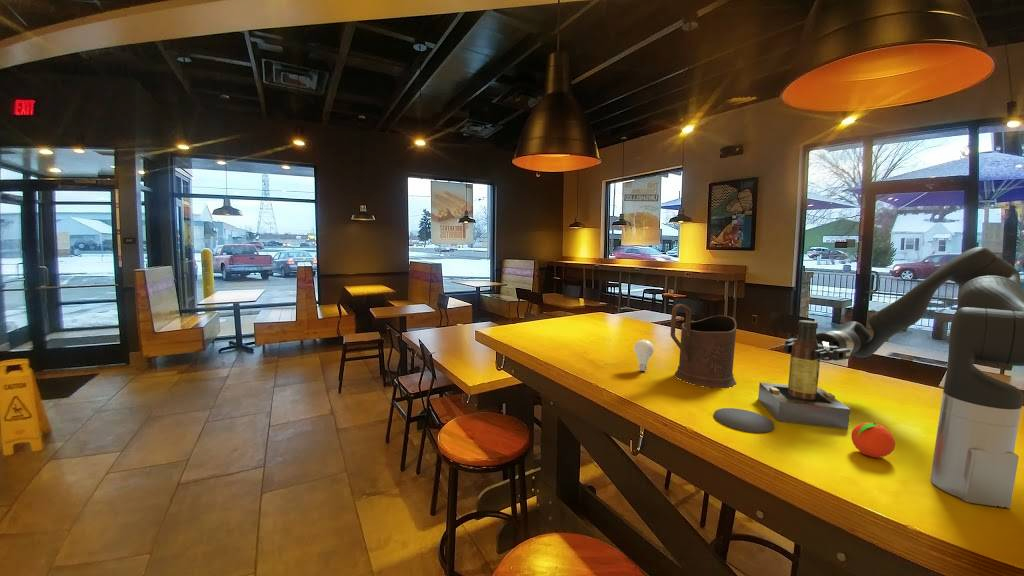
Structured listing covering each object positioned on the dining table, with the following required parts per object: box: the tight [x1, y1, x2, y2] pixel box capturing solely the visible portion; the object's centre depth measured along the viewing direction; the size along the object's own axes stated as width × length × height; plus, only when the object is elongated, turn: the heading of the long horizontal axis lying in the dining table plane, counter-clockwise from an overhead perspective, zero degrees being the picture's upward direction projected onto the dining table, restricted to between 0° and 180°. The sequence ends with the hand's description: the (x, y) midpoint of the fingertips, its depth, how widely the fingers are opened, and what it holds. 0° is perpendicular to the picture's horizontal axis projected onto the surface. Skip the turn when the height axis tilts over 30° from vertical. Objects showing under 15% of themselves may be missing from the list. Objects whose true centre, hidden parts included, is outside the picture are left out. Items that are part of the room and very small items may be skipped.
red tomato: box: [850, 421, 896, 458], centre depth 86 cm, size 8×7×7 cm
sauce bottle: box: [787, 319, 821, 400], centre depth 106 cm, size 7×6×20 cm
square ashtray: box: [757, 381, 851, 430], centre depth 108 cm, size 15×15×6 cm
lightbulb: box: [633, 339, 655, 372], centre depth 140 cm, size 6×6×11 cm
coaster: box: [713, 407, 775, 434], centre depth 102 cm, size 13×13×1 cm
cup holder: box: [670, 303, 738, 389], centre depth 132 cm, size 18×24×25 cm
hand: (800, 352), depth 105 cm, fingers closed on sauce bottle, 6 cm apart
